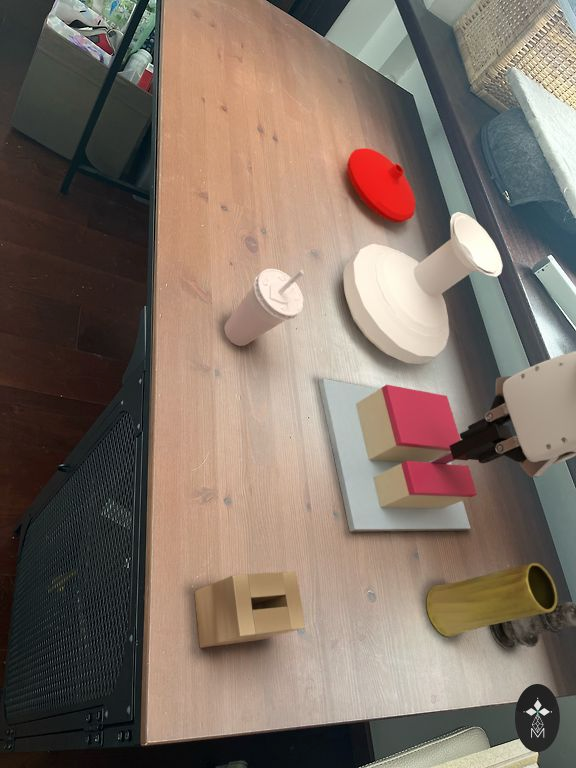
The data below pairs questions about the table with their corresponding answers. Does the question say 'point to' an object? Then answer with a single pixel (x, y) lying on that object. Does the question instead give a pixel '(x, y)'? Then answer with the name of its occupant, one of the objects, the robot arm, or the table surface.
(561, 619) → the salt shaker
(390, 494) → the cake slice
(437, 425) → the cake
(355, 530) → the cake plate
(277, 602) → the knife block
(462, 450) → the knife
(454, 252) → the candle holder
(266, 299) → the smoothie
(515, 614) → the vase
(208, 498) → the table surface
